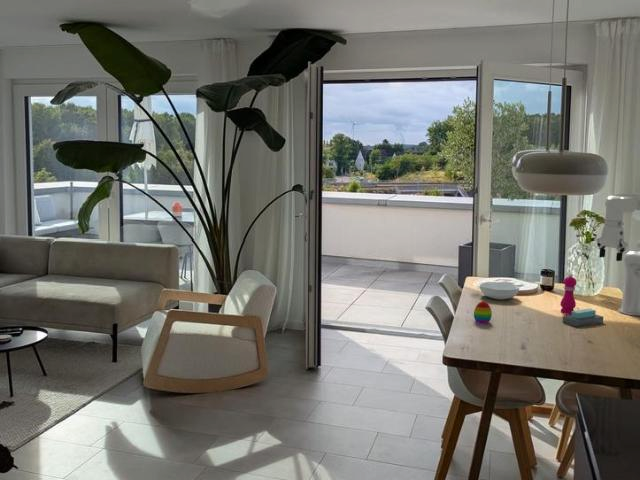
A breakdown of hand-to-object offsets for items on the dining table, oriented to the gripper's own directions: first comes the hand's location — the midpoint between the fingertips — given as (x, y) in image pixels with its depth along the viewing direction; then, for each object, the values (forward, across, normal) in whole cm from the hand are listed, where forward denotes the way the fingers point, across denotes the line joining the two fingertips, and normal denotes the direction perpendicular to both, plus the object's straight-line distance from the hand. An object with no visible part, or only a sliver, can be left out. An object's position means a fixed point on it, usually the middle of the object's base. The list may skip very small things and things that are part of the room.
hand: (610, 258), depth 315 cm
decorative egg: (+29, +19, +60) cm, 70 cm away
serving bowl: (+30, +54, +19) cm, 65 cm away
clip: (+30, 0, +15) cm, 33 cm away
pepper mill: (+30, +16, +8) cm, 35 cm away
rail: (+30, 0, +15) cm, 33 cm away
